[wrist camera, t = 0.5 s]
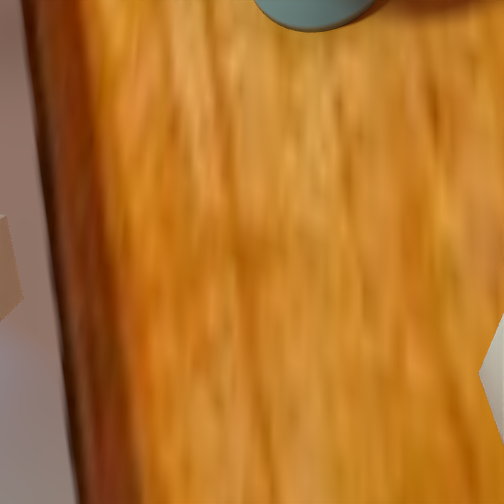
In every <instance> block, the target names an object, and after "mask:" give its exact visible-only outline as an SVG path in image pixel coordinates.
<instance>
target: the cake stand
mask: <svg viewBox="0 0 504 504" xmlns="http://www.w3.org/2000/svg"><path fill="white" fill-rule="evenodd" d="M254 1H255V3H256V4H257V6H258V7H259V9H260V10H261V11H262V12H263V13H264V14H265V15H266V16H267V17H268V18H269V19H271V20H272V21H273V22H275V23H277V24H278V25H280V26H283V27H285V28H287V29H291V30H295V31H300V32H321V31H327V30H331V29H335V28H338V27H340V26H343V25H345V24H347V23H349V22H351V21H352V20H354V19H356V18H357V17H359V16H360V15H361V14H363V13H364V12H365V11H366V10H367V9H368V8H370V7H371V6H372V5H373V3H374V2H375V1H376V0H254Z"/></svg>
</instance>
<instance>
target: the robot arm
mask: <svg viewBox="0 0 504 504" xmlns="http://www.w3.org/2000/svg"><path fill="white" fill-rule="evenodd" d="M22 300H23V294H22V289H21V284H20V280H19V275H18V270H17V265H16V260H15V256H14V251H13V246H12V241H11V237H10V232H9V228H8V222H7V217H6V215H0V321H1V320H2V319H3V318H4V317H5V316H6V315H7V314H8V313H9V312H10V311H11V310H12V309H13V308H15V307H16V306H17V305H18V303H20V302H21V301H22ZM479 376H480V379H481V382H482V385H483V387H484V390H485V393H486V396H487V399H488V402H489V405H490V407H491V410H492V413H493V416H494V419H495V422H496V424H497V427H498V430H499V433H500V436H501V439H502V441H503V444H504V314H503V317H502V319H501V321H500V324H499V326H498V328H497V331H496V333H495V336H494V338H493V340H492V343H491V345H490V347H489V350H488V352H487V355H486V357H485V359H484V362H483V364H482V366H481V369H480V371H479Z"/></svg>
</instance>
